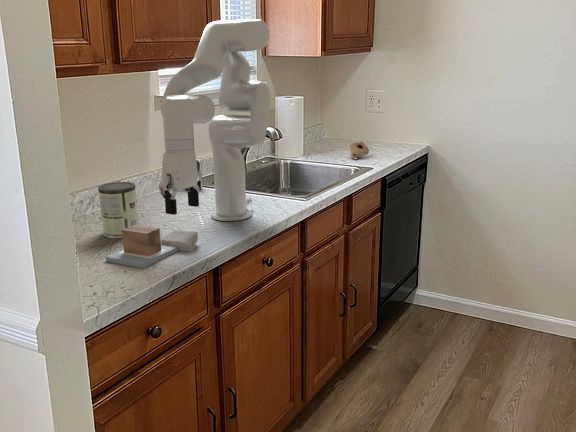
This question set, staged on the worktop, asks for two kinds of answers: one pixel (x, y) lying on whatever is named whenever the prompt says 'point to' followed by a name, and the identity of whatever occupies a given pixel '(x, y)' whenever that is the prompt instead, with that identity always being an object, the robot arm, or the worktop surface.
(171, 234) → the rough stone chunk
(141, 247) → the walnut block
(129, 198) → the coffee can
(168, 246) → the board
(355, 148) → the pottery oil lamp
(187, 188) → the battery charger
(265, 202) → the worktop surface
